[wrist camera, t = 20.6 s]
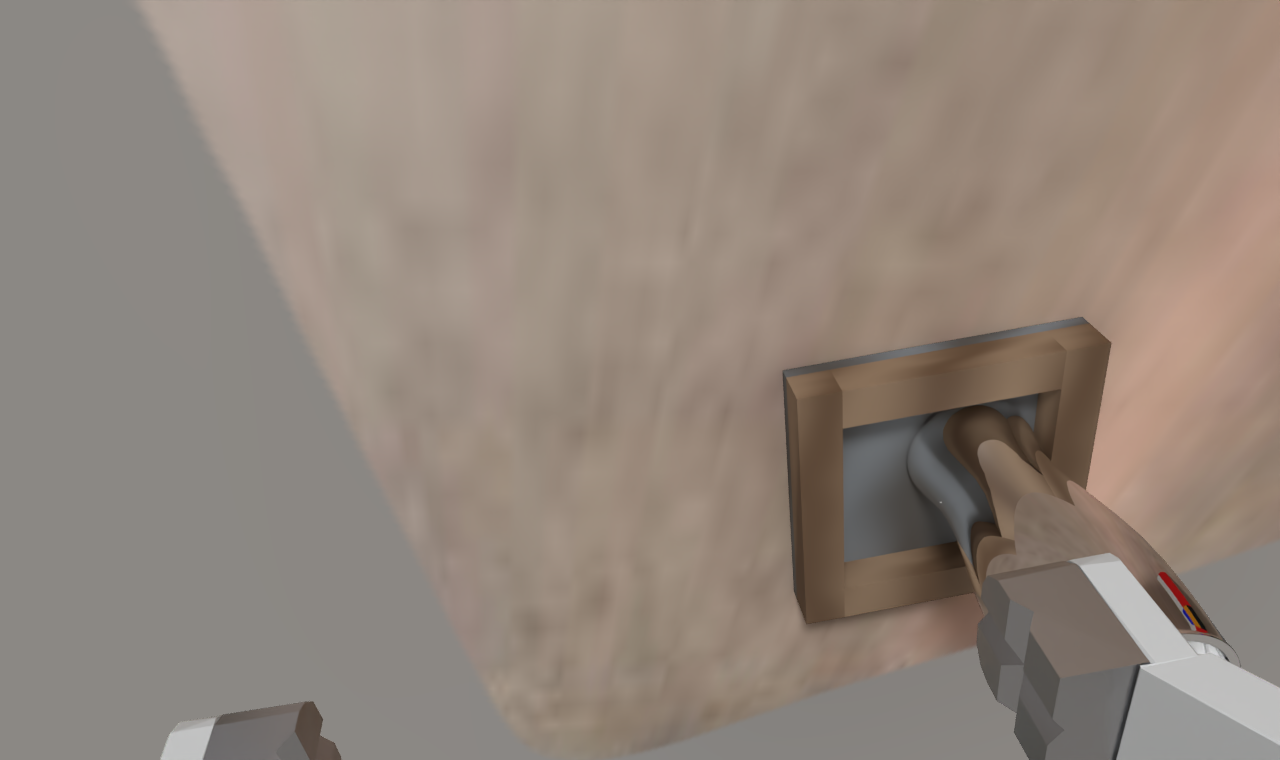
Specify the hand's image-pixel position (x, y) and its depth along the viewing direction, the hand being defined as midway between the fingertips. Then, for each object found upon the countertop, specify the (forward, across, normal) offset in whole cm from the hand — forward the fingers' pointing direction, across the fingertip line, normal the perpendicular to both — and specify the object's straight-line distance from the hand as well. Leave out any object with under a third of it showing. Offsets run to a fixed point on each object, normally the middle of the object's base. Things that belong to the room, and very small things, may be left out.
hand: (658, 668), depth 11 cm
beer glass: (+27, -17, +20) cm, 37 cm away
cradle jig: (+27, -15, +21) cm, 37 cm away
